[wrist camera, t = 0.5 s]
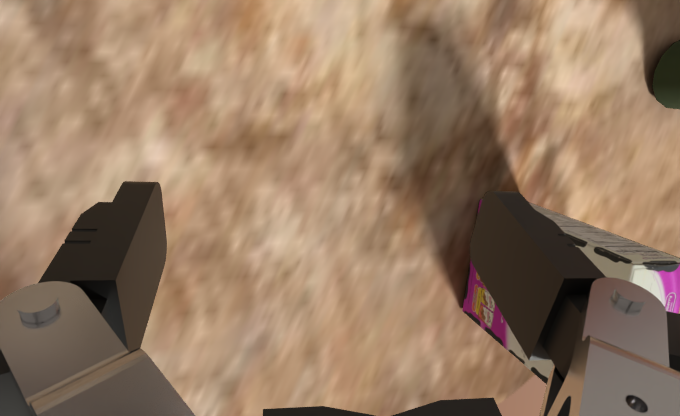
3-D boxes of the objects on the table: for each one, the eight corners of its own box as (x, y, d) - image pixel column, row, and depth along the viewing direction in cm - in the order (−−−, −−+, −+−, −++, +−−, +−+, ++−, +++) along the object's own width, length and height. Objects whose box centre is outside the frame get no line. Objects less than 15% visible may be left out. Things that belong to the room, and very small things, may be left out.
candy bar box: (505, 308, 47) (653, 422, 31) (460, 311, 45) (591, 432, 30) (526, 196, 44) (699, 262, 29) (478, 195, 42) (633, 264, 27)
